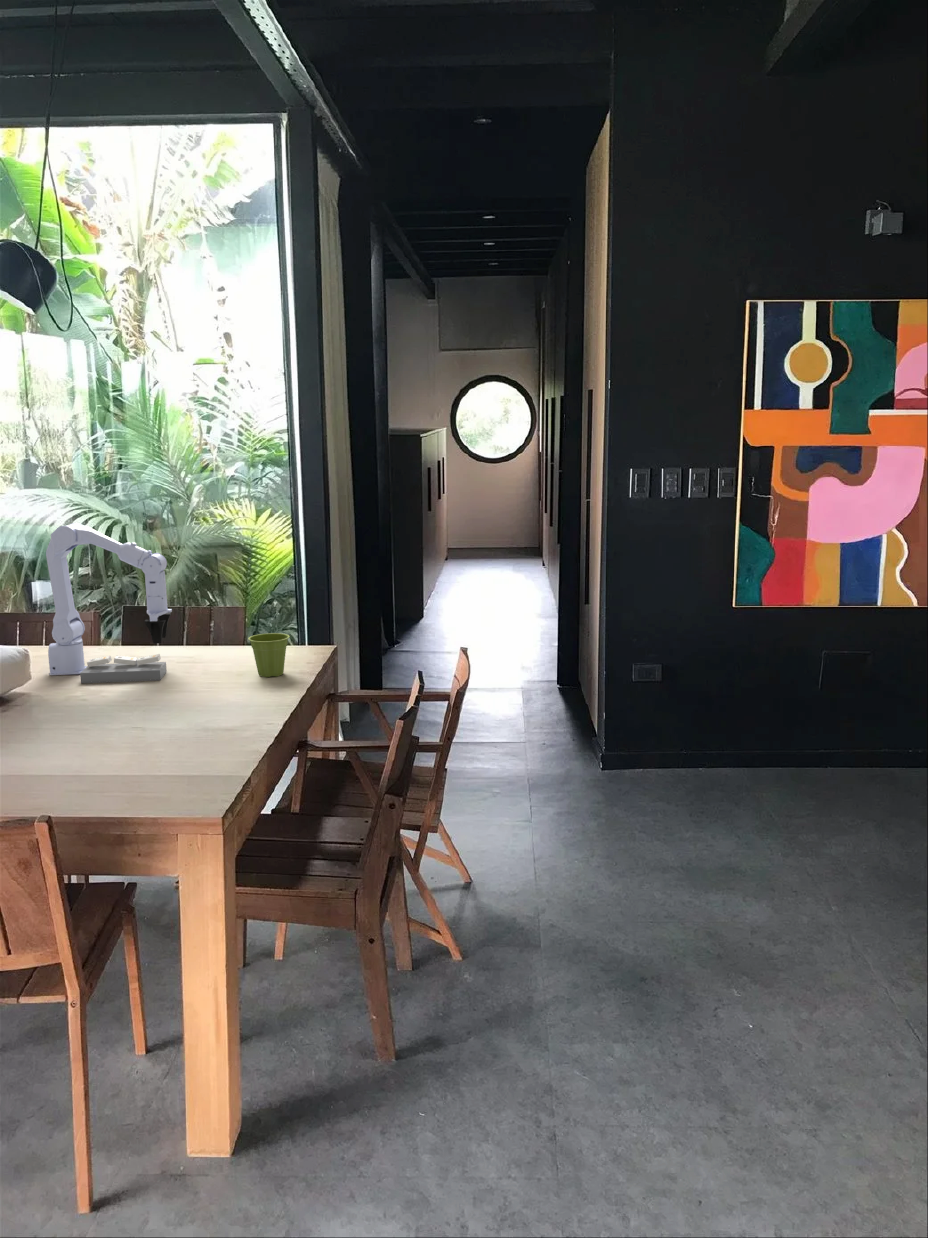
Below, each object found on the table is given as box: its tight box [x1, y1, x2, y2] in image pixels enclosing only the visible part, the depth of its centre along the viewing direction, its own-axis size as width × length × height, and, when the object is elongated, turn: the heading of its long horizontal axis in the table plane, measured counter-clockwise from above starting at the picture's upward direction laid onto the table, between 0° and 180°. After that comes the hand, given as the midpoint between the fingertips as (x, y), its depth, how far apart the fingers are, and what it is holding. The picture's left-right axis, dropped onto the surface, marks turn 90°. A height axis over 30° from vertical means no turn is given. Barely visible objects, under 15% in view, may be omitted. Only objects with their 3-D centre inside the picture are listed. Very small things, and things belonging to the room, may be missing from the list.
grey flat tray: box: [79, 661, 168, 684], centre depth 282 cm, size 22×10×3 cm, turn 97°
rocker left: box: [86, 655, 112, 667], centre depth 283 cm, size 6×4×2 cm, turn 97°
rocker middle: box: [113, 655, 139, 665], centre depth 284 cm, size 6×4×2 cm, turn 98°
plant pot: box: [248, 632, 291, 678], centre depth 284 cm, size 12×12×11 cm
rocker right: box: [137, 653, 161, 665], centre depth 284 cm, size 6×4×2 cm, turn 97°
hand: (159, 640), depth 287 cm, fingers open, 7 cm apart
